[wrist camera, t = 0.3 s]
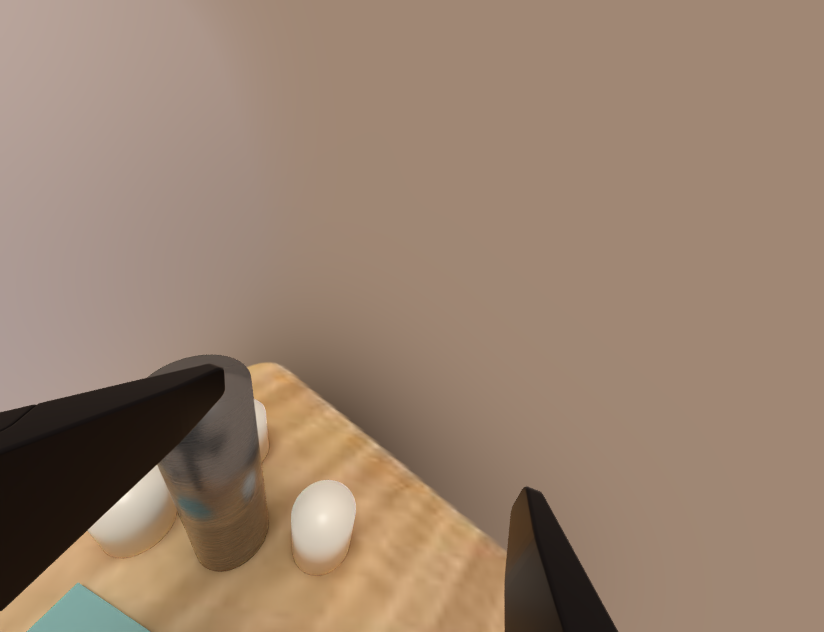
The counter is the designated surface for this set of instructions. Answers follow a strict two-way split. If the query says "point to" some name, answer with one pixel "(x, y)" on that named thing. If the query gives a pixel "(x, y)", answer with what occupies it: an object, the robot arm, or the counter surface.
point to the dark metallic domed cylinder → (220, 472)
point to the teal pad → (85, 615)
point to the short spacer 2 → (322, 526)
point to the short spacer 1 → (136, 518)
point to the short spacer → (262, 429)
